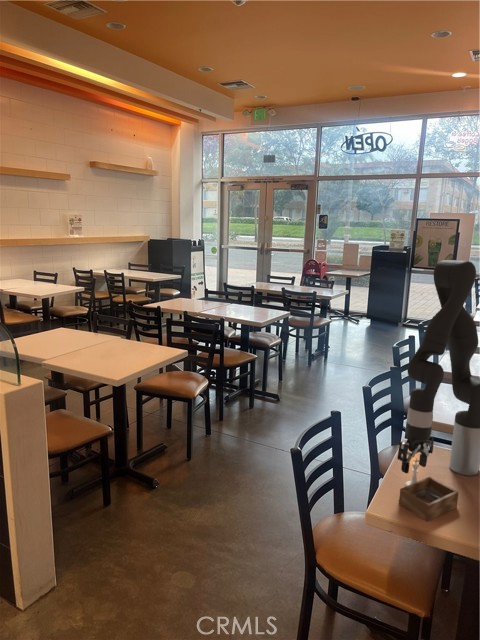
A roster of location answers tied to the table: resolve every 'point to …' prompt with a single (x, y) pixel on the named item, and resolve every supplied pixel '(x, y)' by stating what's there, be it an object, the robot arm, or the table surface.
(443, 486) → the walnut box
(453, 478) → the table surface
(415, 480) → the chess piece
